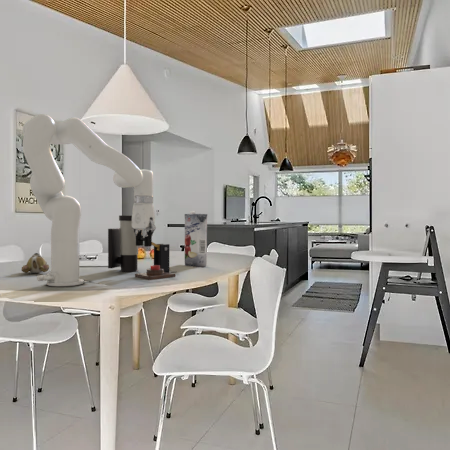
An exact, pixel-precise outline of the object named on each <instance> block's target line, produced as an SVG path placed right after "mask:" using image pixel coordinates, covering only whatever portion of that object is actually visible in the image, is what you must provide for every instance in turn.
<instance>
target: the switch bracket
mask: <svg viewBox="0 0 450 450" xmlns="http://www.w3.org/2000/svg"><path fill="white" fill-rule="evenodd" d="M156 244H157V245H160V251H158V250H157V247H155V246H153V265H160V268H162V269H164V272H168V273H174V274H176V271H175V270H170V244H169V243H156ZM145 273H147V271H145Z"/></svg>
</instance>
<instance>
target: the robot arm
mask: <svg viewBox="0 0 450 450" xmlns="http://www.w3.org/2000/svg"><path fill="white" fill-rule="evenodd" d="M22 134H23V137H22V151H23V155H24V158H25V160H26V163H27V164H28V167H29V169H30V170H31V173H32V175H31V176H30V179H29V186H30V189H31V192H32V194H33V195H34V198H35V199H36V202H37V203H38V205H39V207H40V209H41V211H42V213H43V214H44V216H45V217H46V218H47V219H48V220H50V221H52V223H51V228H50V259H51V260H50V271H47V272H48V273H46V274H41V275H40V274H39V275H37V276H36V281H38V282H41V281H42V282H43V281H44V282H45V281H46V286H48V287H73V286H80V285H83V284H84V283H85V280H84V278H80V225H81V219H82V208H81V204H80V202H79V201H78V200H77V199H76V198H75V197H74V196H71V195H64V193H63V190H64V188H65V186H66V181H65V177H64V174H63V173H62V172H61V169H60V168H59V166H58V163H57V162H56V160H55V157H54V155H53V152H52V150H51V145H71V144H72V145H73V146H74V147H76V148H77V150H79V151H80V152H81V153H82V154H83V155H84V156H85V157H86V158H87V159H88V160H89V161H91V162H93V163H95V164H98V165H102V166H103V167H106V168H109V169H111V170H112V171H113V172H114V173H113V175H112V182H113V183H114V185H115V186H117V187H119V188H123V189H126V188H133V202H134V203H133V206H132V212H131V216H132V229H133V230H134V232H135V236H136V246H138V247H141V246H143V245H144V247H146V248H147V247H148V248H149V247H152V246H153V245H152V242H153V240H152V239H153V238H152V237H153V235H154V233H155V231H156V229H157V227H156V224H155V223H156V217H155V207H154V172H153V170H150V169H140V168H139V167H138V165H137V164H136V163H134V162H133V161H132V159H130V158H129V157H128V156H126V155H125V154H124V153H122V152H121V151H119V150H117V149H116V148H115V147H112V146H110V145H109V144H107V143H106V142H105V141H104V140H103V139H102V138H101V137H100V136H99V135H98V134H97V133H96V132H95V131H94V130H92V129H91V128H90V126H88V125H87V124H86V123H85V122H84V121H83V120H82V119H80V118H78V117H70V118H66V119H65V120H61V121H54V119H53V118H52V117H51V116H50V115H48V114H45V113H39V114H36V115H34V116H33V117H31V118H29V119H28V120H27V121H26V122H25V123H24V124H23V126H22ZM143 231H144V235H143ZM139 237H144V241H139Z"/></svg>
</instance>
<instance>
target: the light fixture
mask: <svg viewBox="0 0 450 450" xmlns="http://www.w3.org/2000/svg"><path fill="white" fill-rule="evenodd" d="M118 221H119V227H114V228H107V268H108V269H114V268H119V267H120V270H119V272H120V273H139V272H140V270H139V269H138V256H139V246H136V236H135V232H134V230H133V229H132V215H131V214H130V215H129V214H128V215H118Z"/></svg>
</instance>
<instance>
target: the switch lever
mask: <svg viewBox="0 0 450 450" xmlns="http://www.w3.org/2000/svg"><path fill="white" fill-rule="evenodd" d="M144 237H145V236H143V237H139V241H143V242H144ZM157 244H158V243H155V242H153V241H152V246H153V247H154V246H155V247H157V250H158V251H160V245H157Z"/></svg>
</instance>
